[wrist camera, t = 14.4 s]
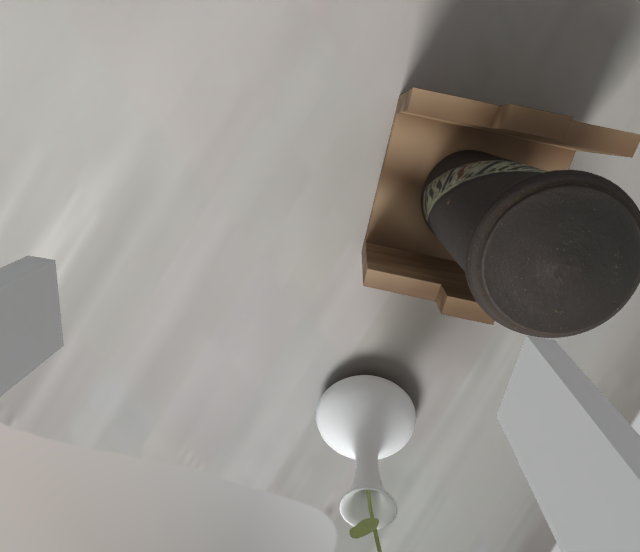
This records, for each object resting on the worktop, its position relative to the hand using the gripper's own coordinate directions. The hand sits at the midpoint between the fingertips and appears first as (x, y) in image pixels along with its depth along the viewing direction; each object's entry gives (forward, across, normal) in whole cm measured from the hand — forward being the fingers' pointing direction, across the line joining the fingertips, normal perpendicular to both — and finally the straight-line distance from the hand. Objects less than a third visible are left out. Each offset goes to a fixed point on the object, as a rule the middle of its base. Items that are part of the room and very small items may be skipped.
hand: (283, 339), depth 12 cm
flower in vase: (+31, +8, -27) cm, 41 cm away
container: (+30, +12, 0) cm, 32 cm away
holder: (+31, +12, 0) cm, 33 cm away
